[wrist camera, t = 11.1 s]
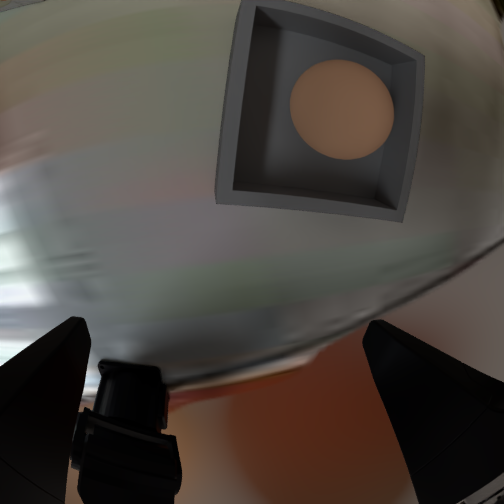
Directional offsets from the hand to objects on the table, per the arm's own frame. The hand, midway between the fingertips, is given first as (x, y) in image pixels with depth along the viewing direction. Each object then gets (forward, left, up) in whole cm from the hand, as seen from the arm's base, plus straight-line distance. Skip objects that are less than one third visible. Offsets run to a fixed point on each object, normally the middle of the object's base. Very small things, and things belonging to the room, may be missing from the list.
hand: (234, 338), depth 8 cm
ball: (+6, +8, -8) cm, 13 cm away
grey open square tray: (+6, +8, -12) cm, 16 cm away
